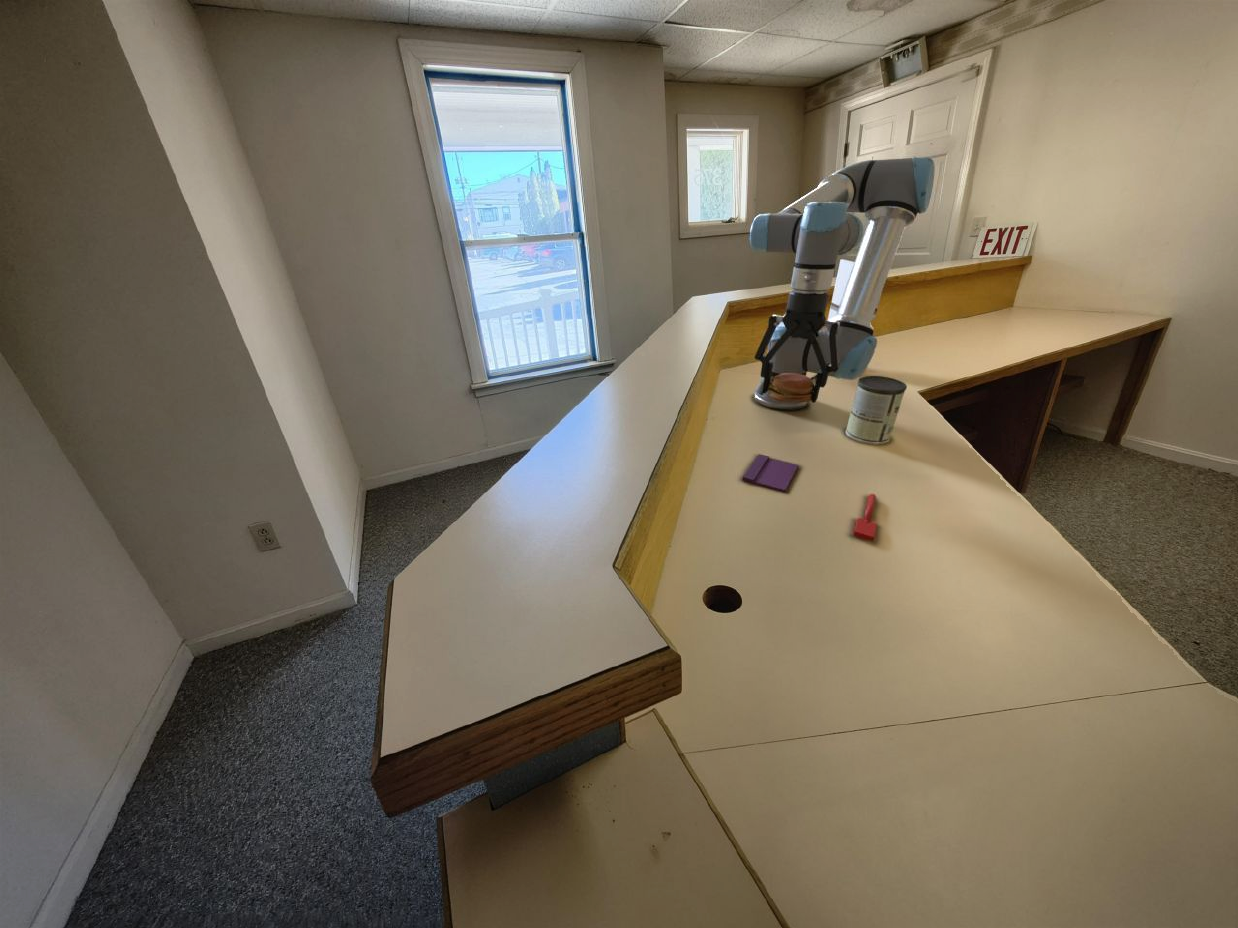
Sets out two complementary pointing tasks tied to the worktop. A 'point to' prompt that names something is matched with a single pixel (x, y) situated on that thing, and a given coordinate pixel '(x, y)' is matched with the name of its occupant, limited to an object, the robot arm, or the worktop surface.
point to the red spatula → (866, 522)
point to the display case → (842, 287)
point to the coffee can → (875, 409)
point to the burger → (791, 388)
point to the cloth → (770, 473)
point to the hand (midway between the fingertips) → (789, 395)
